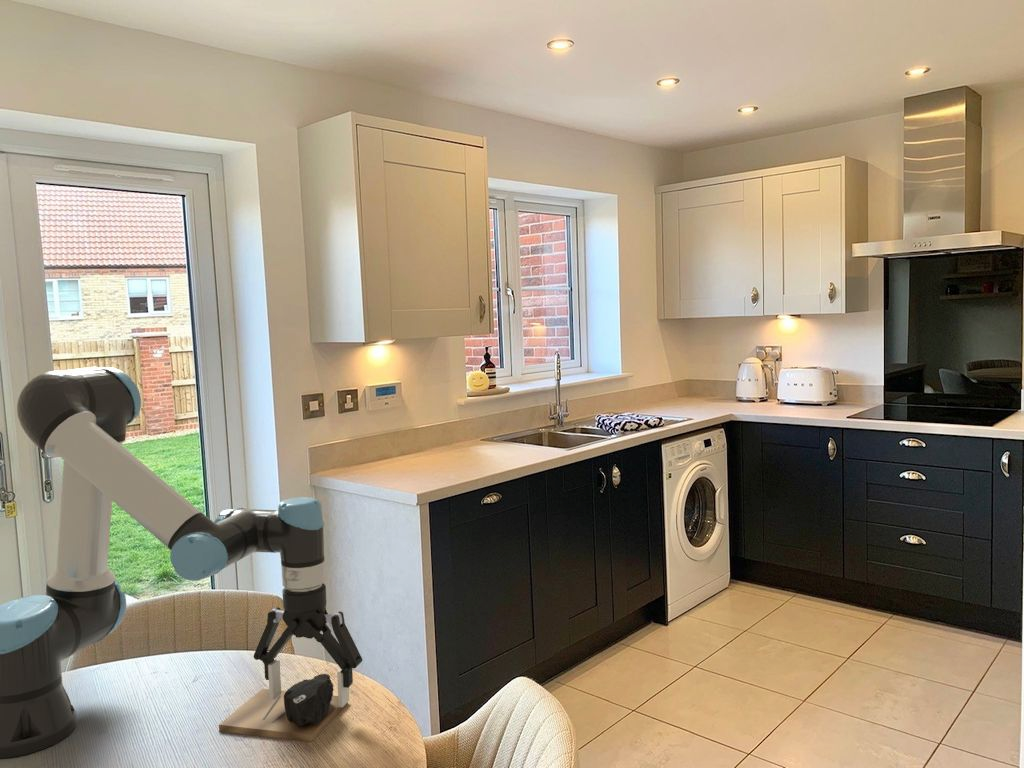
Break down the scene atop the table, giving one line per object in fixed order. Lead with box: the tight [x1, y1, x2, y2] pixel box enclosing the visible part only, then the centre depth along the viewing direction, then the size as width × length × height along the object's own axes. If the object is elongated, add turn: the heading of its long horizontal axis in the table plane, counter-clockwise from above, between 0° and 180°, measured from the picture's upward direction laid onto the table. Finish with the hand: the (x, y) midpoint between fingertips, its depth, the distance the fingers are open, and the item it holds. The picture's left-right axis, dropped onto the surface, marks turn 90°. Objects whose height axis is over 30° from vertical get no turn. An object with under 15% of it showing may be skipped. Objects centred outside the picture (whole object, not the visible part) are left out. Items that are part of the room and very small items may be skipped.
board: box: [218, 688, 349, 743], centre depth 144 cm, size 18×14×1 cm
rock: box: [284, 673, 334, 726], centre depth 141 cm, size 9×10×6 cm
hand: (309, 700), depth 142 cm, fingers open, 13 cm apart
